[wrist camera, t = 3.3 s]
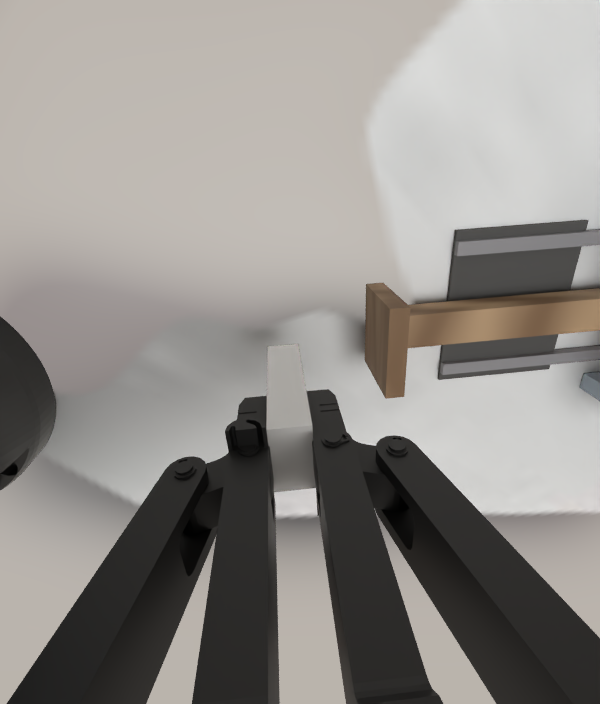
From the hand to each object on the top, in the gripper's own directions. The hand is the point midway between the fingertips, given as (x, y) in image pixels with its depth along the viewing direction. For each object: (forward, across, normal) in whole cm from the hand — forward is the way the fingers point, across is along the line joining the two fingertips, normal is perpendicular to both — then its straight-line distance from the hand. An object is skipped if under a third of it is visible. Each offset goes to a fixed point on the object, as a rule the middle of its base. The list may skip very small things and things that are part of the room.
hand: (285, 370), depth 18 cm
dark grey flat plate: (+6, +15, 0) cm, 16 cm away
